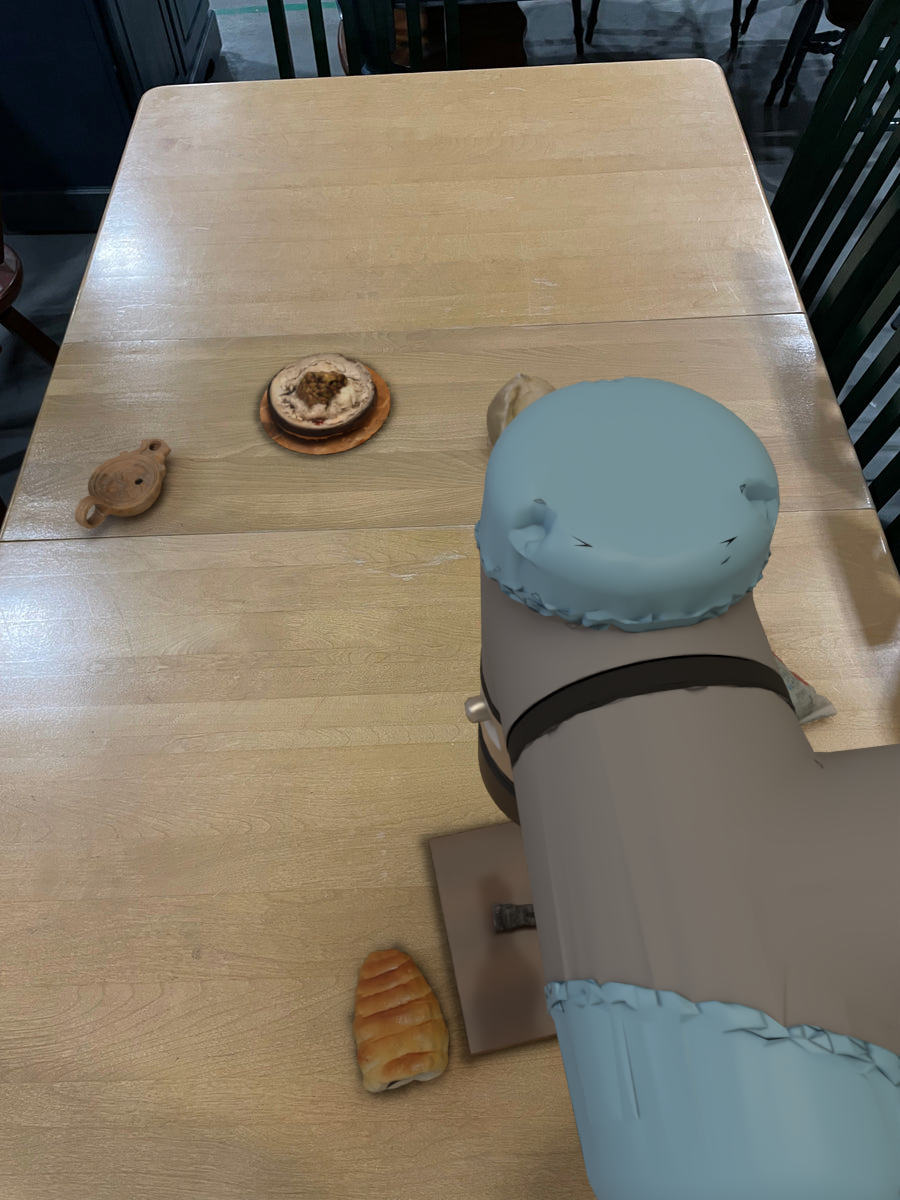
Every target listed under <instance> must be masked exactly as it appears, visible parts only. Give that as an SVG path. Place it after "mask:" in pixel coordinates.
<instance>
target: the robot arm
mask: <svg viewBox="0 0 900 1200" xmlns="http://www.w3.org/2000/svg"><path fill="white" fill-rule="evenodd" d="M556 389H557V390H555V391H553V392H550V393H548V394H546V395H544V396H542V397H540V398H539V399H537V400H536V401H534V402H533V403H531V404H530V405H529V406H527V407H526V408H525V409H524V410H522V411H521V412H520V413H519V414H518V415H517V416H516V417H515V418H514V419H513V420H512V421H511V422H510V423H509V424H508V426H507V427H506V428H505V429H504V430H503V432H502V434H501V435H500V437H499V438H498V440H497V441H496V443H495V445H494V447H493V449H492V450H491V452H490V455H489V458H488V460H487V464H486V469H485V475H484V483H483V484H484V485H483V495H482V502H481V511H480V517H479V520H478V521H477V522H476V523H474V531H473V534H474V539H475V542H476V549H477V550H478V553H479V574H480V575H479V579H480V581H479V583H480V642H481V643H480V656H479V657H480V660H479V679H480V689H479V690H480V691H479V694H478V695H474V696H469V697H467V698H466V700H465V701H464V703H463V705H464V710H465V713H464V715H465V717H466V718H467V720H468V721H469V723H471V724H477V762H478V767H479V773H480V776H481V780H482V782H483V785H484V787H485V789H486V791H487V793H488V795H489V796H490V798H491V799H492V801H493V803H494V805H496V806H497V808H498V809H499V810H500V811H501V812H502V813H503V815H505V816H506V817H507V818H508V819H509V820H510V821H513V822H514V823H516V824H517V825H519V826H520V827H521V831H522V837H523V844H524V850H525V856H526V863H527V869H528V875H529V882H530V888H531V894H532V901H533V907H534V913H535V920H536V926H537V932H538V939H539V945H540V951H541V958H542V964H543V970H544V977H545V983H546V986H545V987H544V993H545V996H546V1002H547V1011H548V1014H550V1016H551V1017H552V1018H553V1020H554V1023H555V1028H556V1032H557V1036H556V1037H557V1042H558V1045H559V1046H558V1047H559V1051H560V1056H561V1061H562V1065H563V1069H564V1074H565V1078H566V1079H565V1080H566V1083H567V1089H568V1093H569V1097H570V1103H571V1107H572V1111H573V1116H574V1121H575V1125H576V1130H577V1134H578V1139H579V1144H580V1149H581V1153H582V1154H581V1155H582V1158H583V1162H584V1168H585V1172H586V1176H587V1179H588V1184H589V1186H590V1188H591V1190H592V1192H593V1194H594V1196H595V1198H596V1200H900V743H893V744H883V745H876V746H868V747H860V748H852V749H851V748H850V749H842V750H834V751H814V749H813V746H812V745H811V743H810V741H809V739H808V737H807V736H806V733H805V731H804V729H803V727H802V726H801V725H800V723H799V721H798V718H797V716H796V710H795V706H794V705H793V703H792V700H791V697H790V694H789V691H788V689H787V687H786V685H785V682H784V680H783V678H782V676H781V673H780V670H779V668H778V665H777V663H776V660H775V657H774V655H773V652H774V651H773V650H772V647H771V645H770V642H769V640H768V636H767V634H766V631H765V630H764V626H763V623H762V621H761V618H760V615H759V613H758V611H757V608H756V603H755V600H754V589H755V588H756V587H757V585H758V584H759V582H760V581H762V579H763V578H764V574H763V572H764V570H765V568H766V566H767V565H768V563H769V559H770V558H771V556H772V551H771V544H772V540H773V536H774V533H775V528H776V526H777V521H778V518H779V512H780V505H781V500H780V499H781V497H780V484H779V477H778V473H777V470H776V467H775V464H774V462H773V460H772V458H771V456H770V454H769V451H768V449H767V447H766V446H765V445H764V443H763V441H761V439H760V438H759V436H758V435H757V434H756V432H755V431H754V430H753V429H752V428H751V427H750V426H749V425H748V424H747V423H746V422H745V421H744V420H743V419H742V418H740V417H739V416H738V415H737V414H736V413H735V412H734V411H732V410H730V409H729V408H728V407H726V406H725V405H724V404H723V403H721V402H719V401H717V400H715V399H714V398H712V397H710V396H708V395H706V394H704V393H702V392H700V391H697V390H695V389H692V388H691V387H687V386H684V385H682V384H678V383H675V382H671V381H667V380H664V379H659V378H650V377H642V376H630V375H625V376H624V377H621V378H615V379H612V380H609V379H608V380H607V379H599V380H596V381H595V380H594V381H590V380H581V381H578V382H575V383H572V384H568V385H566V386H563V387H561V388H556ZM772 651H773V652H772Z"/></svg>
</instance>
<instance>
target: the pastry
mask: <svg viewBox="0 0 900 1200" xmlns="http://www.w3.org/2000/svg"><path fill="white" fill-rule="evenodd" d="M354 991H355V992H354V996H353V997H354V998H353V999H354V1000H353V1001H354V1018H353V1022H352V1026H351V1033H352V1035H353V1037H354V1039H355V1045H356V1050H357V1054H356V1059H357V1063H358V1066H359V1068H360V1071H361V1074H362V1086H363V1088H364V1089H365V1090H366V1091H368V1092H370V1093H371V1094H374V1093H379V1092H382V1091H385V1090H395V1089H396V1088H400V1087H402V1086H403V1085H407V1084H408V1083H411V1082H413V1081H419V1082H428V1081H431V1080H433V1079H437V1078H438V1077H439V1076H440V1075H442V1074H443V1073H444V1072H445V1070H446V1068H447V1067H448V1063H449V1043H450V1034H449V1029H448V1026H447V1025H446V1022H445V1020H444V1016H443V1013H442V1010H441V1006H440V1001H439V999H438V998H437V997H436V996H435V994H434V991H433V989H432V988H431V987H430V985H429V984H428V982H427V980H426V978H425V976H424V975H423V973H422V972H421V970H420V969H419V967H418V966H417V964H416V963H415V961H414V959H413V958H412V957H411V956H410V955H408V954H407V953H405V952H404V951H403V952H402V951H400V950H398V949H395V948H387V949H386V948H385V949H382V950H373V951H371V952H369V954H368V955H367V957H366V959H365V960H364V961H363V963H362V964H361V966H360V967H359V969H358V976H357V985H356V987H355V989H354Z"/></svg>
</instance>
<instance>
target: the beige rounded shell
mask: <svg viewBox="0 0 900 1200" xmlns="http://www.w3.org/2000/svg"><path fill="white" fill-rule="evenodd" d="M557 389H558V388H556V387H555V386H554V385H553V384H552V383H550V382H549V381H548V380H546V379H544V378H541V377H540V376H535V375H527V374H523V373H522V372H517V373H516V375H515V377H512V378H511V379H510V380H508V381H507V382H506V383H504V385H503V386H502V387H501V388H500V389H499V390H498V391H497V392H496V393H495V395H494V396H493V398H492V399H491V401H490V403H489V404H488V407H487V411H486V428H487V429H486V430H487V440H486V445H487V448H488V449H489V450H491V451H492V449H493V447H494V445H495V443H496V441H497V440H498V438H499V437H500V435H501V434H502V432H503V430H504V429H505V428H506V427H507V426H508V424H509V423H510V422H511V421H512V420H513V419H514V418H515V417H516V416H517V415H518V414H519V413H520V412H521V411H522V410H524V409H525V408H526V407H527V406H529V405H530V404H531V403H533V402H534V401H536V400H537V399H539V398H540V397H542V396H544V395H546V394H548V393H550V392H553V391H555V390H557Z"/></svg>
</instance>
